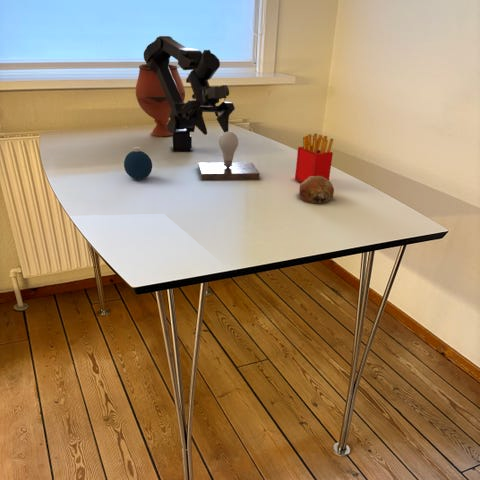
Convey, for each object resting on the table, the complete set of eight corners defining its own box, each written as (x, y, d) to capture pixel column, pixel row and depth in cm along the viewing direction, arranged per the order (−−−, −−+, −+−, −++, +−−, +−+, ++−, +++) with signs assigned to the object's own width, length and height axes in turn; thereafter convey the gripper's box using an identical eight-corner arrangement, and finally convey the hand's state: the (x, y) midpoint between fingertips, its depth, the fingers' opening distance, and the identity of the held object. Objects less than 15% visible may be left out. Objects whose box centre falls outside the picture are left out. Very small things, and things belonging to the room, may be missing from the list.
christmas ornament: (158, 178, 151) (157, 145, 146) (138, 185, 145) (136, 150, 140) (139, 173, 155) (137, 140, 150) (119, 179, 149) (116, 145, 144)
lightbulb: (230, 171, 153) (231, 135, 147) (214, 168, 156) (214, 131, 150) (241, 167, 158) (242, 131, 152) (225, 163, 160) (225, 128, 154)
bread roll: (332, 209, 145) (338, 181, 144) (328, 204, 135) (334, 175, 134) (299, 204, 147) (304, 176, 146) (293, 199, 137) (299, 170, 136)
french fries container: (311, 177, 158) (317, 132, 151) (329, 185, 152) (336, 138, 144) (293, 180, 155) (298, 133, 148) (311, 188, 149) (317, 140, 141)
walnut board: (201, 180, 151) (201, 173, 150) (198, 169, 161) (198, 162, 160) (258, 179, 154) (259, 173, 153) (252, 168, 164) (252, 162, 163)
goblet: (184, 140, 192) (180, 69, 178) (135, 139, 192) (127, 68, 178) (188, 128, 208) (186, 62, 194) (143, 128, 208) (137, 61, 194)
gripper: (192, 71, 147) (209, 121, 147) (237, 76, 159) (252, 121, 160) (173, 92, 156) (189, 139, 156) (217, 94, 168) (231, 138, 168)
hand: (216, 134), depth 160 cm, fingers open, 9 cm apart
